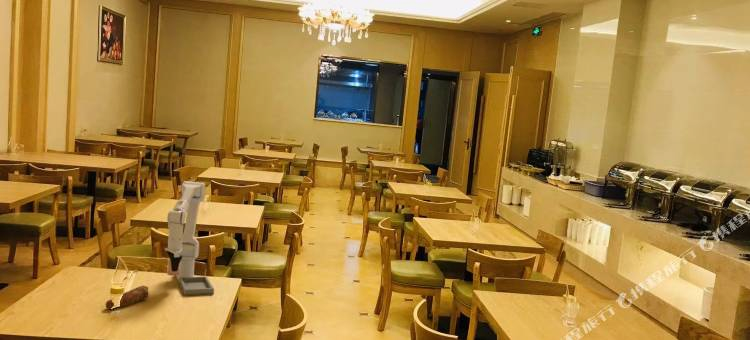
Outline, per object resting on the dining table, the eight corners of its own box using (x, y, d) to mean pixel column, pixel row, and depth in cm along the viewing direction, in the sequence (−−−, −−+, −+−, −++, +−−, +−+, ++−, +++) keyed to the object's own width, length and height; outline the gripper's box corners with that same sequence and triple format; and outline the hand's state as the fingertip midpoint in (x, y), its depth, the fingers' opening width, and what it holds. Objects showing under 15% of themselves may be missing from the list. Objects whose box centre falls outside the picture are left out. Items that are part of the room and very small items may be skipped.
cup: (165, 272, 273) (166, 256, 273) (178, 272, 276) (179, 256, 275) (167, 275, 268) (168, 259, 268) (180, 275, 271) (181, 259, 270)
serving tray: (178, 282, 283) (179, 277, 282) (206, 281, 288) (206, 276, 287) (184, 295, 266) (185, 289, 266) (213, 294, 271) (214, 288, 271)
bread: (150, 300, 258) (150, 286, 257) (112, 312, 241) (112, 298, 240) (138, 296, 261) (139, 283, 260) (100, 308, 243) (100, 294, 243)
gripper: (163, 234, 275) (162, 264, 277) (167, 242, 262) (165, 274, 264) (180, 234, 278) (179, 264, 280) (185, 242, 265) (183, 273, 267)
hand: (173, 269), depth 272 cm, fingers closed on cup, 5 cm apart
